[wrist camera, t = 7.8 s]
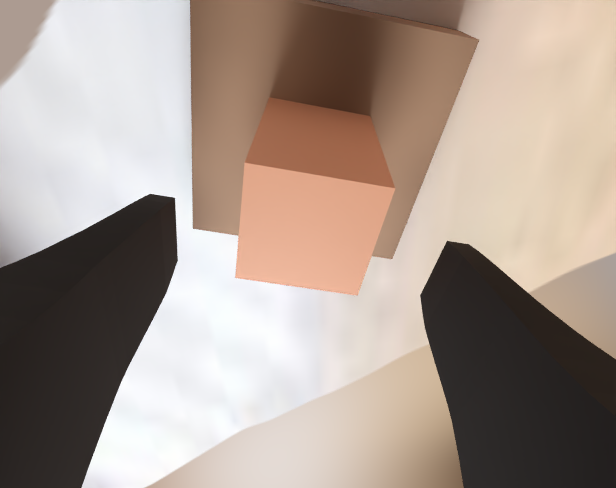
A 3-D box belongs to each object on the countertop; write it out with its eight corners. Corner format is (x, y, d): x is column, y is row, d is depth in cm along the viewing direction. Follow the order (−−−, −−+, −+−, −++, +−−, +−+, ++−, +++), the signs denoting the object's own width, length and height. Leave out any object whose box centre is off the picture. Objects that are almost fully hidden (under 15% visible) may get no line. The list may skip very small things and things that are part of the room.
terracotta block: (259, 188, 17) (235, 277, 12) (269, 97, 14) (244, 162, 10) (346, 202, 17) (357, 295, 12) (370, 116, 15) (395, 188, 10)
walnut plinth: (205, 202, 20) (192, 228, 18) (207, -23, 14) (189, -21, 12) (385, 231, 21) (392, 259, 19) (457, 30, 15) (479, 39, 13)
